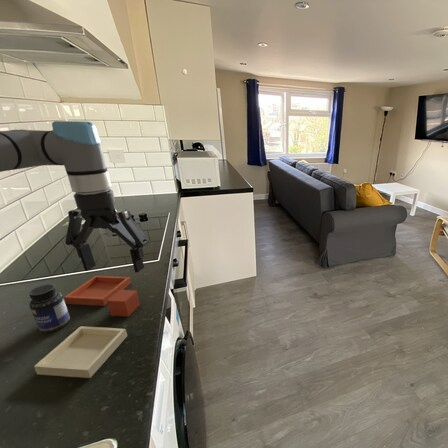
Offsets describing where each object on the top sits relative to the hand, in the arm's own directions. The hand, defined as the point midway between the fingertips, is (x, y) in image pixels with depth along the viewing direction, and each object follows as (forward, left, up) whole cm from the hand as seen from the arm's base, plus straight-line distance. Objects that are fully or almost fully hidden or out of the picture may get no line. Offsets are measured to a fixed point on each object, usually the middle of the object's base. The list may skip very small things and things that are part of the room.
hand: (115, 269), depth 69 cm
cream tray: (+1, -15, -13) cm, 20 cm away
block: (0, 0, -13) cm, 13 cm away
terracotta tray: (-13, +7, -13) cm, 20 cm away
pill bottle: (-14, -7, -13) cm, 21 cm away
